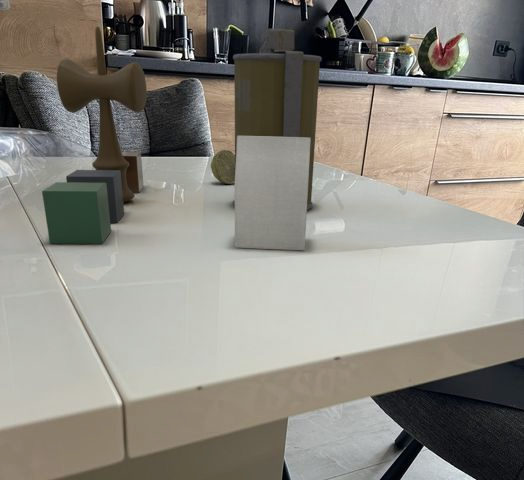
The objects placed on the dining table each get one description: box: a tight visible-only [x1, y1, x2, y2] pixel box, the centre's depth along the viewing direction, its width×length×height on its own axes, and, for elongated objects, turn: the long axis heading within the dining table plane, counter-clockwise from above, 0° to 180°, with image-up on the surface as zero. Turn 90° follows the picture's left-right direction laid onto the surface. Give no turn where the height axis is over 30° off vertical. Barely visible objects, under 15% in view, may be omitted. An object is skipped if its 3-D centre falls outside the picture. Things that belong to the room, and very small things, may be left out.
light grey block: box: [234, 136, 311, 251], centre depth 52 cm, size 4×7×10 cm, turn 85°
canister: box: [232, 28, 323, 211], centre depth 67 cm, size 11×10×20 cm
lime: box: [210, 149, 235, 185], centre depth 86 cm, size 4×5×5 cm
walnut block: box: [121, 151, 144, 194], centre depth 79 cm, size 5×5×5 cm
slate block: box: [65, 169, 125, 224], centre depth 62 cm, size 5×5×5 cm
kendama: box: [56, 25, 148, 203], centre depth 68 cm, size 6×10×20 cm, turn 82°
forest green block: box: [41, 181, 112, 245], centre depth 54 cm, size 5×5×5 cm
